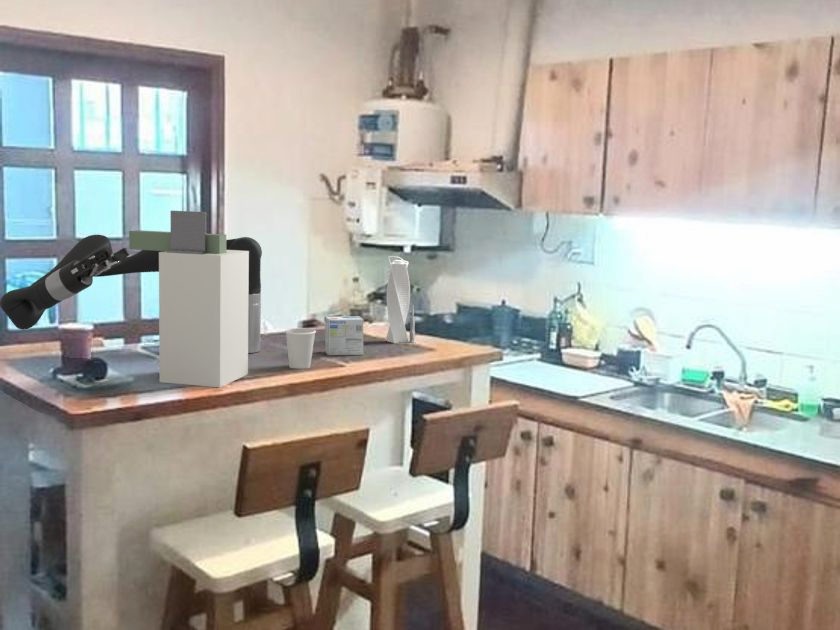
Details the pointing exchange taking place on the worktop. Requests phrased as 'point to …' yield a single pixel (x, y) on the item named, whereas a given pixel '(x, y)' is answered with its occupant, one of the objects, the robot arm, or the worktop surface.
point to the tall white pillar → (203, 317)
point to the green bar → (163, 241)
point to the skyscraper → (399, 303)
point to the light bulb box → (344, 335)
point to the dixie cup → (300, 347)
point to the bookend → (188, 232)
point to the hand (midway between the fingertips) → (118, 252)
